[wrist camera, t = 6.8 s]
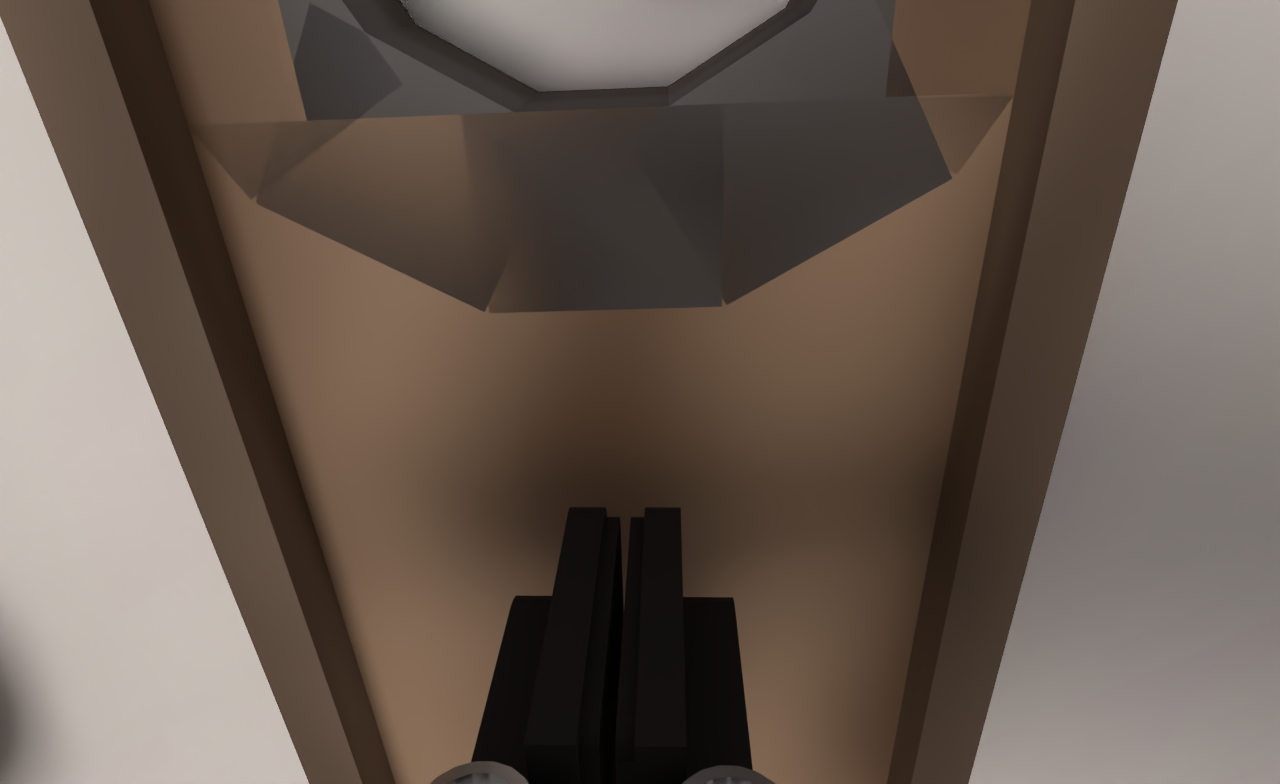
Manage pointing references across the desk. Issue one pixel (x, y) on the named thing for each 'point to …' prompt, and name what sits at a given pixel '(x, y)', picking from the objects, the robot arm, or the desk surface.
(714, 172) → the walnut lane
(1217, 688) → the desk surface
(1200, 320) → the desk surface
